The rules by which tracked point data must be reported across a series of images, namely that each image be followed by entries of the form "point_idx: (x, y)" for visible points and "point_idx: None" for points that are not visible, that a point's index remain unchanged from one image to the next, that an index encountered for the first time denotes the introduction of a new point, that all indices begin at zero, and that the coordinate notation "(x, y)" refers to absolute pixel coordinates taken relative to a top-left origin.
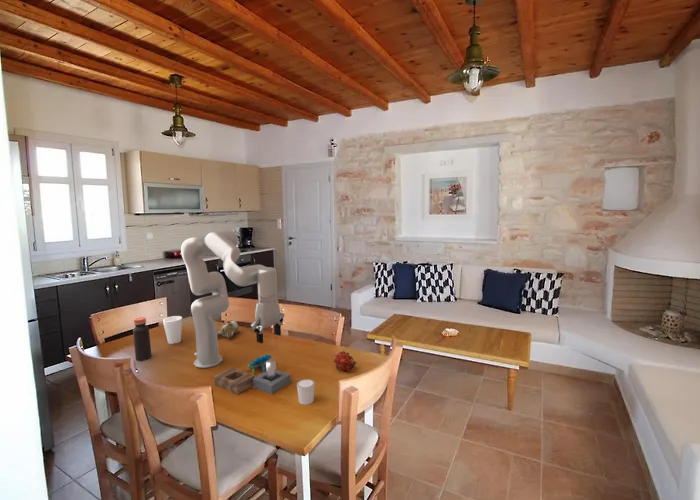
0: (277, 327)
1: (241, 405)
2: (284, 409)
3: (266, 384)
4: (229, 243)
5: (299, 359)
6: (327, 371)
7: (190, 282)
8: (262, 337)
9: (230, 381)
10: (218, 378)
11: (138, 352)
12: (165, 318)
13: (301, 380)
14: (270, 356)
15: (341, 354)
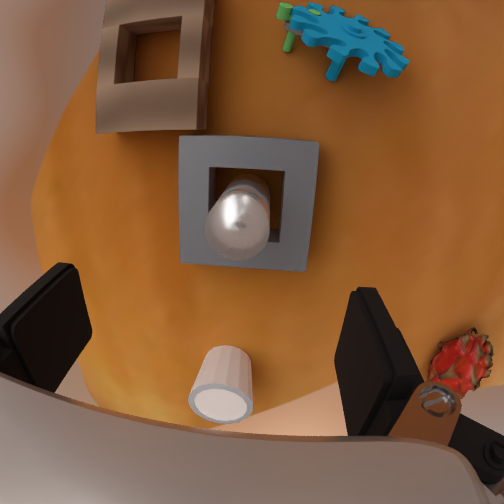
0: (358, 418)
1: (85, 206)
2: (154, 336)
3: (179, 233)
4: None
5: (482, 162)
6: (426, 319)
7: None
8: (56, 374)
9: (102, 84)
10: (106, 14)
11: None
12: None
13: (228, 389)
14: (394, 75)
15: (468, 380)
